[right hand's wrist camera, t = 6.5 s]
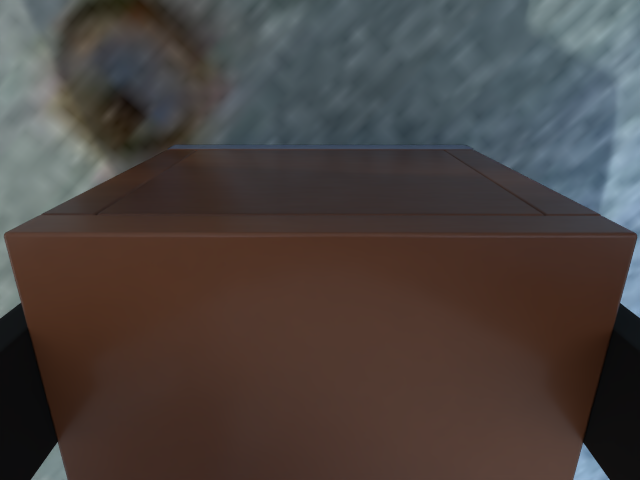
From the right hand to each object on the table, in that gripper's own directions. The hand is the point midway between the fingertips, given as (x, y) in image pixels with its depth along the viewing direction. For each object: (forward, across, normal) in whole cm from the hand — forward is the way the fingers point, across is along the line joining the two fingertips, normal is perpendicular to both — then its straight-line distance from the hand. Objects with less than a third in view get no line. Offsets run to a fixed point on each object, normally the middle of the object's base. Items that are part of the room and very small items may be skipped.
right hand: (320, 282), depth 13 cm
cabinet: (+5, 0, -5) cm, 7 cm away
